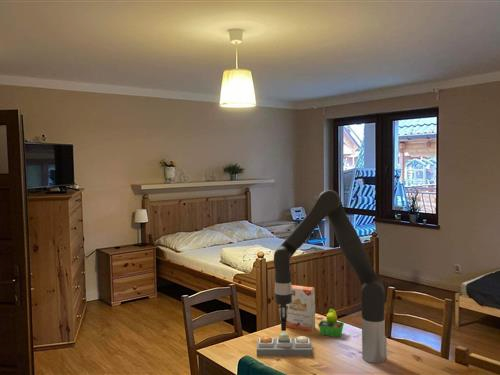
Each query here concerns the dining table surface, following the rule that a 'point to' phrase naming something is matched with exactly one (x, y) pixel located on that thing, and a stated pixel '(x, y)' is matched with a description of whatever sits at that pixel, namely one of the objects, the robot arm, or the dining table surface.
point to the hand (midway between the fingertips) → (283, 330)
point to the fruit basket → (331, 325)
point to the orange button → (265, 339)
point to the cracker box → (301, 308)
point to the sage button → (283, 336)
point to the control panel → (284, 348)
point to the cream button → (301, 339)
